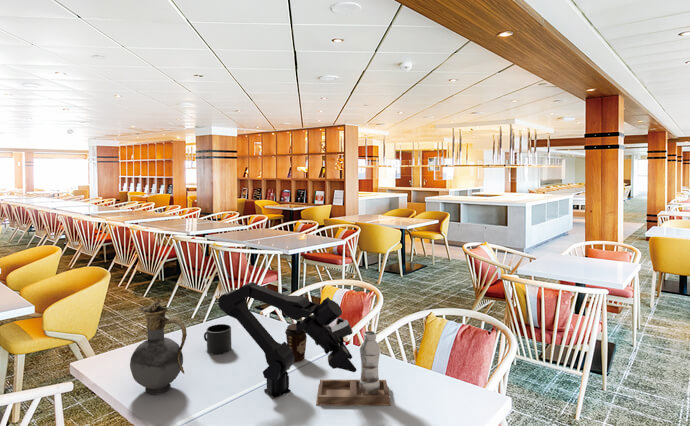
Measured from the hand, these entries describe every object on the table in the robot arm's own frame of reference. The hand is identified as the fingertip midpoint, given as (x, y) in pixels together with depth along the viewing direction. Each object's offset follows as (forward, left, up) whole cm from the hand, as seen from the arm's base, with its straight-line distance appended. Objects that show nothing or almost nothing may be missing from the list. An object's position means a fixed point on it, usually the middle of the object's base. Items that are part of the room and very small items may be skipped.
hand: (353, 364), depth 135 cm
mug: (-17, +63, -11) cm, 67 cm away
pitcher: (-44, +45, -11) cm, 64 cm away
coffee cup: (+2, +34, -11) cm, 36 cm away
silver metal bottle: (+4, -3, -10) cm, 12 cm away
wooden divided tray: (0, 0, -11) cm, 11 cm away
